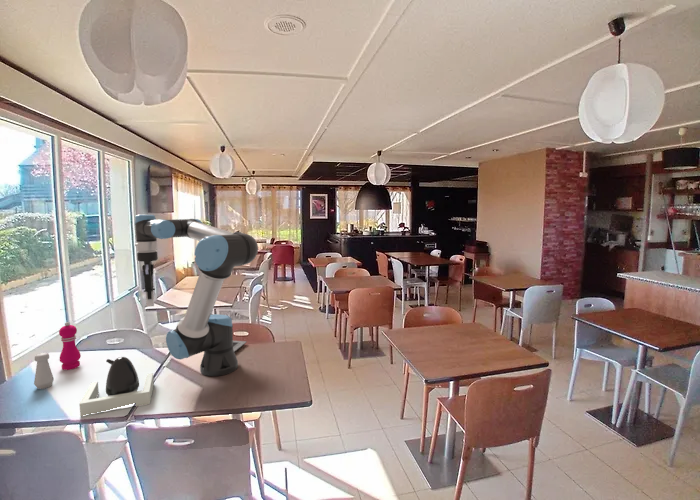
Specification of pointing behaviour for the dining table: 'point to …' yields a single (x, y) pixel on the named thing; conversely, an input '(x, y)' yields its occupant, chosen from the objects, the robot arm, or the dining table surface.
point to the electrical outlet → (238, 344)
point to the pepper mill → (69, 347)
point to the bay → (115, 398)
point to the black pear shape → (121, 377)
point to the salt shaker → (43, 372)
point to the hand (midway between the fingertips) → (150, 306)
